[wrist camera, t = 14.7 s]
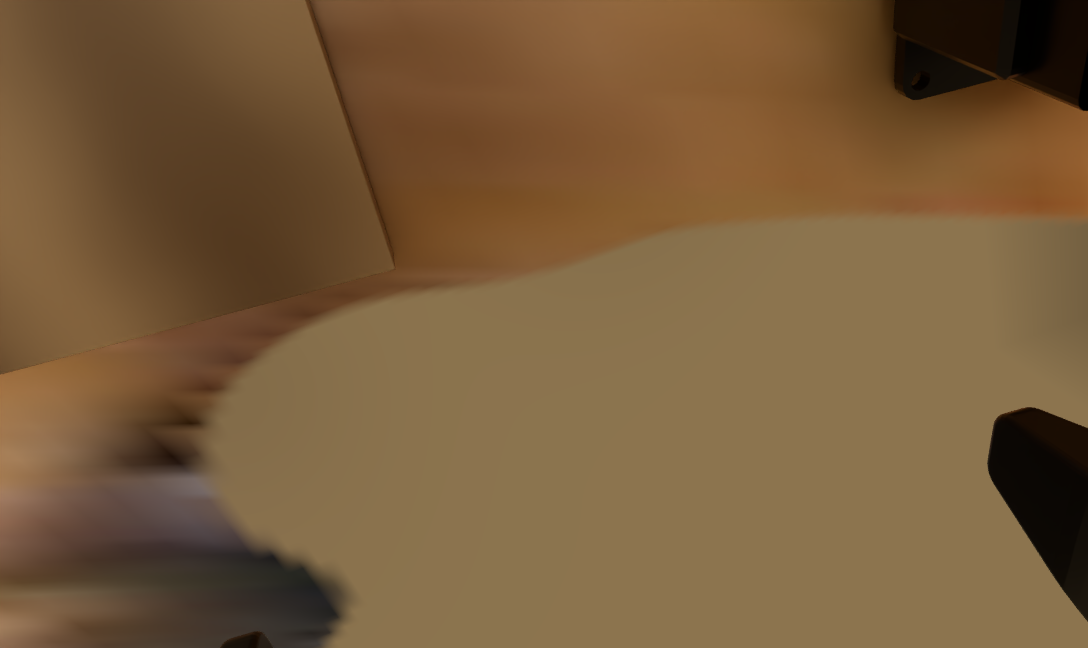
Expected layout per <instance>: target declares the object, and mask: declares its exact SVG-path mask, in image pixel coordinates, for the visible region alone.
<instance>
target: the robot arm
mask: <svg viewBox="0 0 1088 648" xmlns="http://www.w3.org/2000/svg"><path fill="white" fill-rule="evenodd" d="M893 28H894V31H895V32H896V33H897V40H896V57H895V75H894V83H895V88H896V90H897V91H898V93H900V94H902V95H904V96H906V97H907V98H910V99H912V100H919V99H923V98H927V97H931V96H935V95H938V94H942V93H946V92H950V91H954V90H957V89H961V88H965V87H969V86H973V85H976V84H980V83H984V82H988V81H992V80H995V79H1000V80H1006V79H1009V80H1011V81H1014V82H1016V83H1018V84H1021V85H1023V86H1025V87H1028V88H1030V89H1033V90H1035V91H1037V92H1040V93H1042V94H1044V95H1047V96H1049V97H1052V98H1054V99H1056V100H1059V101H1061V102H1064V103H1066V104H1068V105H1071V106H1073V107H1075V108H1078V109H1080V110H1083V111H1088V0H895V6H894V25H893ZM919 72H921V77H920V79H919V81H918V82H917V83H916V84H914V85H913V86H912V80H913V78H914V76H915V75H916V74H917V73H919ZM987 464H988V471H989V475H990V477H991V480H992V481H993V483H994V485H995V487H996V488H997V490H998V491H999V493H1000V494H1001V496H1002V497H1003V499H1004V501H1005V502H1006V504H1007V505H1008V507H1009V508H1010V510H1011V511H1012V513H1013V514H1014V516H1015V518H1016V519H1017V521H1018V522H1019V524H1020V525H1021V527H1022V528H1023V530H1024V532H1025V533H1026V534H1027V536H1028V538H1029V539H1030V541H1031V542H1032V544H1033V546H1034V547H1035V548H1036V550H1037V552H1038V553H1039V555H1040V556H1041V558H1042V559H1043V561H1044V562H1045V564H1046V566H1047V567H1048V569H1049V570H1050V572H1051V573H1052V574H1053V576H1054V578H1055V579H1056V581H1057V582H1058V583H1059V585H1060V586H1061V588H1062V589H1063V591H1064V592H1065V593H1066V595H1067V596H1068V597H1069V598H1070V600H1071V601H1072V602H1073V604H1074V605H1075V606H1076V608H1077V609H1078V610H1079V611H1080V613H1081V614H1082V615H1083V616H1084V618H1085V619H1086V620H1087V621H1088V428H1086V427H1084V426H1081V425H1078V424H1076V423H1073V422H1071V421H1068V420H1065V419H1063V418H1061V417H1058V416H1055V415H1053V414H1050V413H1048V412H1045V411H1043V410H1040V409H1036V408H1032V407H1026V408H1021V409H1018V410H1014V411H1011V412H1008V413H1004V414H1001V415H1000V416H998V417H997V419H996V420H995V422H994V426H993V431H992V437H991V443H990V449H989V455H988V463H987ZM220 648H274V647H273V646H272V644H271V643H270V641H269V639H268V638H267V636H266V635H265V634H264V633H262V632H260V631H254V632H251V633H248V634H244V635H241V636H237V637H234V638H231V639H229V640H227V641H225V642H224V643H223V644H222V646H221V647H220Z"/></svg>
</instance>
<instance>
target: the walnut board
mask: <svg viewBox="0 0 1088 648" xmlns="http://www.w3.org/2000/svg"><path fill="white" fill-rule="evenodd" d="M391 270H395V263H394V255H393V252H392V249H391V246H390V243H389V240H388V237H387V234H386V231H385V228H384V225H383V222H382V219H381V216H380V213H379V210H378V207H377V204H376V201H375V198H374V195H373V192H372V189H371V186H370V182H369V179H368V176H367V173H366V170H365V167H364V164H363V161H362V158H361V155H360V152H359V149H358V146H357V143H356V140H355V137H354V134H353V131H352V128H351V125H350V122H349V119H348V116H347V113H346V110H345V107H344V104H343V101H342V98H341V95H340V92H339V89H338V86H337V83H336V80H335V77H334V74H333V71H332V68H331V65H330V62H329V59H328V56H327V53H326V50H325V47H324V44H323V41H322V38H321V35H320V32H319V29H318V26H317V23H316V20H315V17H314V14H313V11H312V8H311V5H310V2H309V0H0V374H4V373H8V372H12V371H15V370H19V369H23V368H27V367H30V366H34V365H38V364H42V363H45V362H49V361H53V360H57V359H60V358H64V357H68V356H72V355H75V354H79V353H83V352H87V351H90V350H94V349H98V348H102V347H105V346H109V345H113V344H117V343H120V342H124V341H128V340H132V339H135V338H139V337H143V336H147V335H150V334H154V333H158V332H162V331H165V330H169V329H173V328H177V327H181V326H184V325H188V324H192V323H196V322H199V321H203V320H207V319H211V318H214V317H218V316H222V315H226V314H229V313H233V312H237V311H241V310H244V309H248V308H252V307H256V306H259V305H263V304H267V303H271V302H274V301H278V300H282V299H286V298H289V297H293V296H297V295H301V294H304V293H308V292H312V291H316V290H319V289H323V288H327V287H331V286H334V285H338V284H342V283H346V282H350V281H353V280H357V279H361V278H365V277H368V276H372V275H376V274H380V273H383V272H387V271H391Z"/></svg>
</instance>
